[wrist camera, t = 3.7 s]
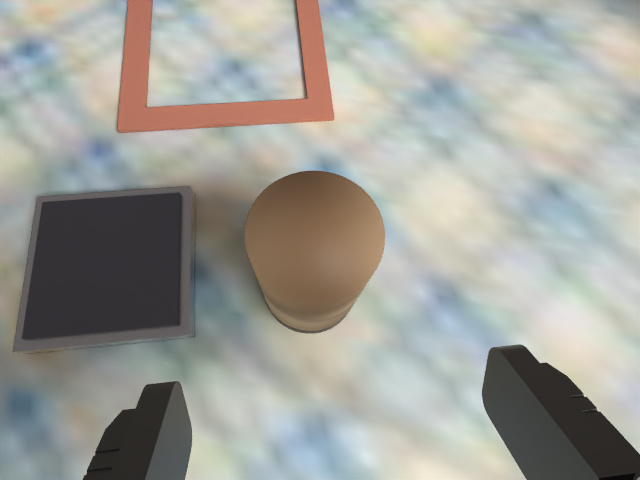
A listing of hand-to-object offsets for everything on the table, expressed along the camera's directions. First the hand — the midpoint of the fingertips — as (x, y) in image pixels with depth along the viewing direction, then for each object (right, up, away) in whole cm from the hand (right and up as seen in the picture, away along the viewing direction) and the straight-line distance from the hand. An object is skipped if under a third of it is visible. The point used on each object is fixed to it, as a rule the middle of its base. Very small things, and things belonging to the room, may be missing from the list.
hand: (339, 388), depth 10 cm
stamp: (-1, +1, +11) cm, 11 cm away
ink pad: (-11, +2, +11) cm, 16 cm away
